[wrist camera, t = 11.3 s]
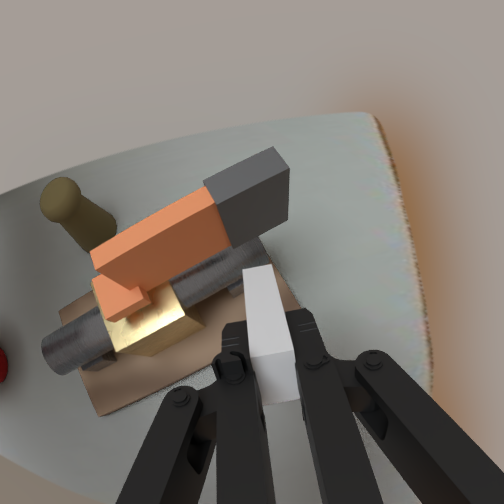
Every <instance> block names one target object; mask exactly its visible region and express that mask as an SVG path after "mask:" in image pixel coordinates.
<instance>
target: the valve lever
mask: <svg viewBox="0 0 504 504" xmlns="http://www.w3.org/2000/svg"><path fill="white" fill-rule="evenodd" d="M289 174H290V168H289V166H288V165H287V164H286V162H285V161H284V160H283V159H282V157H281V156H280V155H279V153H278V152H277V151H276V150H275V148H274V147H270V148H268V149H266V150H264V151H262V152H260V153H258V154H256V155H253V156H251V157H249V158H247V159H245V160H243V161H241V162H239V163H237V164H235V165H233V166H231V167H229V168H227V169H225V170H223V171H221V172H219V173H217V174H215V175H213V176H211V177H209V178H207V179H205V180H203V183H204V185H205V186H204V187H202V188H200V189H198V190H196V191H195V192H193V193H191V194H189V195H187V196H185V197H183V198H181V199H180V200H178V201H176V202H174V203H172V204H170V205H169V206H167V207H165V208H163V209H161V210H160V211H158V212H156V213H154V214H152V215H151V216H149V217H147V218H145V219H144V220H142V221H140V222H138V223H137V224H135V225H133V226H131V227H130V228H128V229H126V230H125V231H123V232H121V233H119V234H118V235H116V236H114V237H113V238H111V239H109V240H108V241H106V242H104V243H103V244H101V245H100V246H98V247H96V248H95V249H93V250H91V251H90V254H91V258H92V261H93V264H94V267H95V270H96V271H98V272H99V273H101V274H100V275H98V276H97V277H95V278H93V279H92V282H93V285H94V288H95V291H96V294H97V297H98V300H99V303H100V306H101V309H102V312H103V314H104V317H105V320H108V321H111V322H114V323H115V322H117V321H119V320H121V319H123V318H125V317H126V316H128V315H130V314H132V313H134V312H135V311H137V310H139V309H141V308H143V307H145V306H146V305H148V304H150V303H151V301H150V299H149V296H148V294H147V291H149V290H151V289H152V288H154V287H156V286H158V285H160V284H161V283H163V282H165V281H167V280H169V279H171V278H172V277H174V276H176V275H178V274H180V273H181V272H183V271H185V270H187V269H189V268H191V267H192V266H194V265H196V264H198V263H200V262H202V261H203V260H205V259H207V258H209V257H211V256H213V255H215V254H216V253H218V252H220V251H222V250H224V249H226V248H227V247H229V246H232V248H233V249H235V248H237V247H239V246H241V245H242V244H244V243H246V242H248V241H250V240H252V239H254V238H255V237H257V236H259V235H261V234H263V233H265V232H267V231H268V230H270V229H272V228H274V227H276V226H278V225H280V224H281V223H283V222H285V221H287V220H288V203H289Z"/></svg>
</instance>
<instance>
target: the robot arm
mask: <svg viewBox="0 0 504 504" xmlns="http://www.w3.org/2000/svg"><path fill="white" fill-rule="evenodd" d="M242 270H243V282H244V294H245V305H246V317H247V320H243V321H238V322H232V323H226V325H225V327H224V328H223V330H222V341H221V346H222V347H221V353H219V354H217V355H216V356H215V357H214V359H213V361H212V364H211V365H212V368H213V370H214V373H215V376H216V379H217V380H216V381H215V382H214V383H213V384H211V385H210V386H208V387H205V388H203V389H200V390H195V389H194V388H193V387H190V386H179V387H176V388H173V389H172V390H171V391H169V392H168V393H167V394H166V396H165V397H164V399H163V401H162V403H161V406H160V408H159V410H158V412H157V414H156V416H155V418H154V421H153V423H152V425H151V427H150V429H149V431H148V434H147V436H146V438H145V440H144V442H143V444H142V447H141V449H140V451H139V453H138V455H137V458H136V460H135V462H134V464H133V466H132V469H131V471H130V473H129V475H128V477H127V480H126V482H125V484H124V486H123V488H122V491H121V493H120V495H119V497H118V500H117V502H116V504H198V501H199V498H200V495H201V492H202V488H203V485H204V482H205V479H206V475H207V472H208V469H209V465H210V462H211V459H212V455H213V452H214V449H215V445H216V467H217V504H276V501H275V493H274V485H273V478H272V470H271V462H270V454H269V446H268V438H267V430H266V422H265V415H264V412H263V407H262V405H263V406H264V405H270V404H275V403H281V402H286V401H291V400H296V399H301V406H302V414H303V420H304V421H305V425H306V430H307V434H308V439H309V443H310V448H311V452H312V457H313V462H314V466H315V471H316V475H317V480H318V485H319V489H320V494H321V499H322V503H323V504H383V501H382V498H381V495H380V492H379V488H378V485H377V482H376V479H375V476H374V473H373V470H372V467H371V464H370V461H369V458H368V456H367V453H366V450H365V447H364V444H363V441H362V438H361V435H360V432H359V430H358V427H357V424H356V421H355V418H354V415H353V413H352V412H354V413H355V415H356V416H357V418H358V419H359V420H360V422H361V423H362V424H363V426H364V427H365V428H366V430H367V431H368V432H369V434H370V435H371V436H372V438H373V439H374V440H375V442H376V443H377V444H378V446H379V447H380V448H381V450H382V451H383V452H384V454H385V455H386V456H387V458H388V459H389V460H390V462H391V463H392V464H393V466H394V467H395V468H396V470H397V471H398V472H399V474H400V475H401V476H402V478H403V479H404V480H405V482H406V483H407V484H408V486H409V487H410V488H411V489H412V491H413V492H414V493H415V495H416V496H417V497H418V499H419V500H420V501H421V503H422V504H504V473H503V472H502V471H501V469H500V468H499V467H498V466H497V465H496V464H495V463H494V462H493V461H492V460H491V459H490V458H489V457H488V456H487V455H486V454H485V453H484V451H483V450H482V449H481V448H480V447H479V446H478V445H477V444H476V443H475V442H474V441H473V440H472V439H471V438H470V437H469V436H468V435H467V434H466V433H465V432H464V431H463V430H462V429H461V428H460V427H459V426H458V425H457V423H456V422H455V421H454V420H453V419H452V418H451V417H449V415H448V414H447V413H446V412H445V411H444V410H443V409H442V408H441V407H440V406H439V405H438V404H437V403H436V402H435V401H434V400H433V399H432V398H431V397H430V396H429V395H428V394H427V393H426V392H425V391H424V390H423V389H422V388H421V387H420V386H419V385H418V384H417V383H416V382H415V381H414V380H413V379H412V378H411V377H410V376H409V375H408V374H407V373H406V372H405V371H404V370H403V369H402V368H401V367H400V366H399V365H398V364H397V363H396V362H395V361H394V360H393V359H392V358H391V357H390V356H389V355H388V354H386V353H385V352H383V351H379V350H369V351H365V352H363V353H361V354H360V355H359V356H358V357H357V359H356V360H354V361H346V360H339V359H335V358H333V357H332V356H330V354H328V352H327V351H326V349H325V346H324V343H323V340H322V338H321V335H320V333H319V330H318V327H317V325H316V323H315V319H314V317H313V314H312V313H311V312H310V311H308V310H307V309H306V308H302V309H297V310H292V311H287V312H284V309H283V306H282V302H281V298H280V294H279V290H278V286H277V283H276V279H275V275H274V271H273V268H272V264H269V265H264V266H258V267H253V268H248V269H242Z"/></svg>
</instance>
